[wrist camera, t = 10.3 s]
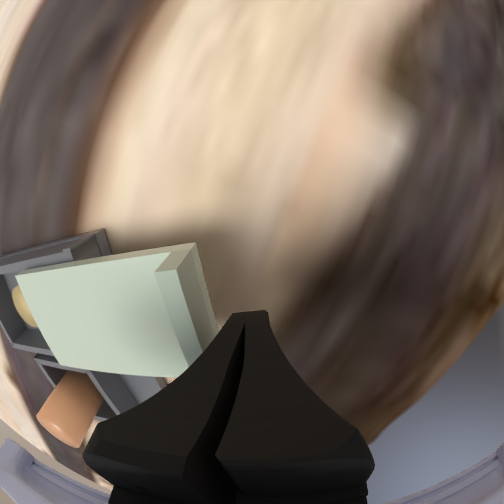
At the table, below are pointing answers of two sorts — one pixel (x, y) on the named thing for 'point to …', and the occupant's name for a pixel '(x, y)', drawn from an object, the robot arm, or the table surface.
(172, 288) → the lid
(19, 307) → the housing
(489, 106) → the table surface
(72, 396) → the tan cylindrical peg
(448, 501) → the robot arm
